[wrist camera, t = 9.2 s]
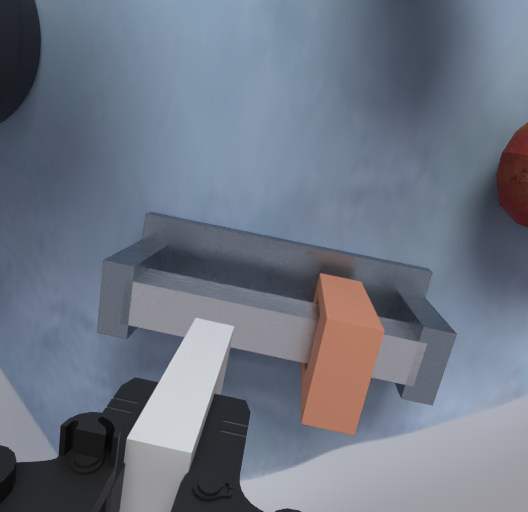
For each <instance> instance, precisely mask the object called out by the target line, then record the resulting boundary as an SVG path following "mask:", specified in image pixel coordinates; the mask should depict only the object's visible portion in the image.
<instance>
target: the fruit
mask: <svg viewBox="0 0 528 512" xmlns="http://www.w3.org/2000/svg"><path fill="white" fill-rule="evenodd" d="M496 177H497V187H498V196H499V202H500V205H501V206H502V207H503V208H504V210H505V211H506V212H507V213H508V214H509V215H510V216H511V217H512V218H513V219H514V220H515V222H516V223H518V224H520V225H523V226H526V227H528V123H526V124H525V125H524V126H522V127H521V128H520V129H519V130H517V131H516V132H515V134H514V135H513V137H512V138H511V140H510V142H509V143H508V145H507V146H506V148H505V149H504V151H503V152H502V155H501V159H500V163H499V167H498V171H497V175H496Z"/></svg>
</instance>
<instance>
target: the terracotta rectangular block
mask: <svg viewBox="0 0 528 512" xmlns="http://www.w3.org/2000/svg"><path fill="white" fill-rule="evenodd" d="M313 303H317V304H319V309H320V317H319V321H318V326H317V330H316V334H315V338H314V342H313V346H312V350H311V355H310V359H309V363H308V364H306V363H302V362H301V424H305V425H309V426H314V427H318V428H323V429H327V430H332V431H336V432H341V433H345V434H350V435H354V436H355V432H356V429H357V425H358V422H359V418H360V415H361V412H362V408H363V405H364V401H365V398H366V394H367V391H368V387H369V384H370V380H371V377H372V373H373V370H374V366H375V363H376V360H377V356H378V353H379V349H380V346H381V342H382V339H383V335H384V332H385V330H384V328H383V326H382V324H381V322H380V320H379V318H378V316H377V314H376V311H375V309H374V307H373V305H372V303H371V301H370V299H369V297H368V295H367V293H366V290H365V288H364V286H363V284H362V282H361V281H356V280H351V279H346V278H342V277H337V276H332V275H327V274H322V273H320V274H319V279H318V283H317V287H316V291H315V296H314V300H313Z"/></svg>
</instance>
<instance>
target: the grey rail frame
mask: <svg viewBox="0 0 528 512" xmlns="http://www.w3.org/2000/svg"><path fill="white" fill-rule="evenodd" d="M320 273H322V274H327V275H332V276H337V277H342V278H346V279H351V280H356V281H361V282H362V284H363V286H364V288H365V290H366V293H367V295H368V297H369V299H370V301H371V303H372V305H373V307H374V309H375V311H376V314H377V316H378V318H379V320H380V322H381V324H382V326H383V328H384V330H385V332H384V335H383V339H382V342H381V346H380V349H379V353H378V356H377V360H376V363H375V366H374V370H373V373H372V377H371V378H376V379H381V380H385V381H390V382H394V383H395V385H396V387H397V390H398V392H399V394H400V397H401V399H405V400H410V401H415V402H419V403H424V404H428V405H433V403H434V400H435V397H436V394H437V391H438V388H439V385H440V382H441V379H442V376H443V373H444V370H445V368H446V365H447V362H448V359H449V356H450V353H451V350H452V347H453V344H454V341H455V338H456V335H457V334H456V332H455V331H454V330H453V329H452V328H451V327H450V326H449V324H448V323H447V322H446V321H445V320H444V319H443V318H442V316H441V315H440V314H439V313H438V312H437V311H436V310H435V308H434V307H433V306H432V305H431V304H430V303H429V301H428V300H427V299H426V298H425V295H426V292H427V289H428V286H429V282H430V279H431V276H432V273H433V272H432V271H430V270H429V269H427V268H422V267H417V266H412V265H407V264H402V263H398V262H393V261H388V260H383V259H378V258H373V257H368V256H363V255H358V254H353V253H348V252H344V251H339V250H334V249H329V248H324V247H319V246H314V245H309V244H304V243H299V242H294V241H290V240H285V239H280V238H275V237H270V236H265V235H260V234H255V233H250V232H245V231H240V230H236V229H231V228H226V227H221V226H216V225H211V224H206V223H201V222H196V221H191V220H186V219H182V218H177V217H172V216H167V215H162V214H157V213H152V212H150V213H147V214H146V217H145V225H144V234H143V239H142V240H140V241H138V242H137V243H135V244H133V245H131V246H129V247H127V248H125V249H123V250H122V251H120V252H118V253H116V254H114V255H112V256H110V257H108V258H106V259H105V260H104V261H103V272H102V283H101V294H100V305H99V316H98V327H97V333H101V334H106V335H110V336H115V337H119V338H124V339H127V338H128V337H129V336H130V335H131V334H132V333H133V332H134V331H135V330H136V329H137V328H138V327H139V328H144V329H148V330H153V331H158V332H162V333H167V334H172V335H176V336H181V337H185V336H186V334H187V333H188V331H189V329H190V327H191V326H192V324H193V322H194V320H195V319H196V318H199V319H203V320H208V321H213V322H217V323H222V324H227V325H231V326H234V331H233V336H232V341H231V346H230V347H232V348H237V349H241V350H246V351H251V352H255V353H260V354H264V355H269V356H274V357H278V358H283V359H288V360H292V361H297V362H302V363H306V364H308V363H309V359H310V355H311V350H312V346H313V342H314V338H315V334H316V330H317V326H318V321H319V317H320V309H319V304H317V303H313V300H314V296H315V291H316V287H317V283H318V279H319V274H320Z"/></svg>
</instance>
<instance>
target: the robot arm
mask: <svg viewBox="0 0 528 512" xmlns="http://www.w3.org/2000/svg"><path fill="white" fill-rule="evenodd" d="M39 54H40V27H39V19H38V13H37V9H36V5H35V1H34V0H0V123H1V122H2V121H3V120H5V119H6V118H7V117H9V116H10V115H11V114H12V113H13V112H14V111H15V110H16V109H17V108H18V106H19V105H20V104H21V103H22V101H23V100H24V98H25V97H26V95H27V93H28V91H29V89H30V87H31V85H32V82H33V80H34V77H35V74H36V70H37V66H38V61H39ZM233 331H234V326H231V325H227V324H222V323H217V322H213V321H208V320H203V319H199V318H196V319H195V320H194V322H193V324H192V326H191V327H190V329H189V331H188V333H187V334H186V336H185V338H184V339H183V341H182V343H181V345H180V346H179V348H178V350H177V352H176V353H175V355H174V357H173V359H172V360H171V362H170V364H169V366H168V367H167V369H166V371H165V373H164V374H163V376H162V378H161V380H160V381H159V383H158V382H154V381H149V380H145V379H140V378H133V379H132V380H130V381H128V382H127V383H125V384H123V385H122V386H121V387H120V389H119V390H118V391H117V393H116V394H115V396H114V398H113V399H112V400H111V401H110V403H109V404H108V405H107V408H105V410H104V411H103V412H102V413H98V412H89V413H82V414H79V415H76V416H74V417H72V418H69V419H68V420H67V421H66V422H64V423H63V424H62V425H61V430H60V444H59V456H58V457H57V458H56V459H52V460H47V461H39V462H19V463H16V457H15V454H14V452H13V451H11V450H10V449H9V448H8V447H5V446H1V445H0V512H263V511H261V510H259V509H258V508H257V507H255V506H254V505H252V504H251V503H250V502H249V501H248V499H247V498H246V497H245V496H244V494H243V492H242V490H241V487H240V471H241V465H242V459H243V453H244V447H245V441H246V435H247V430H248V424H249V418H250V410H249V408H248V405H247V403H246V400H241V399H237V398H232V397H227V396H223V395H220V394H221V391H222V387H223V382H224V377H225V372H226V367H227V362H228V357H229V351H230V346H231V341H232V336H233ZM275 512H301V511H299V510H293V509H282V510H277V511H275Z"/></svg>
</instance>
